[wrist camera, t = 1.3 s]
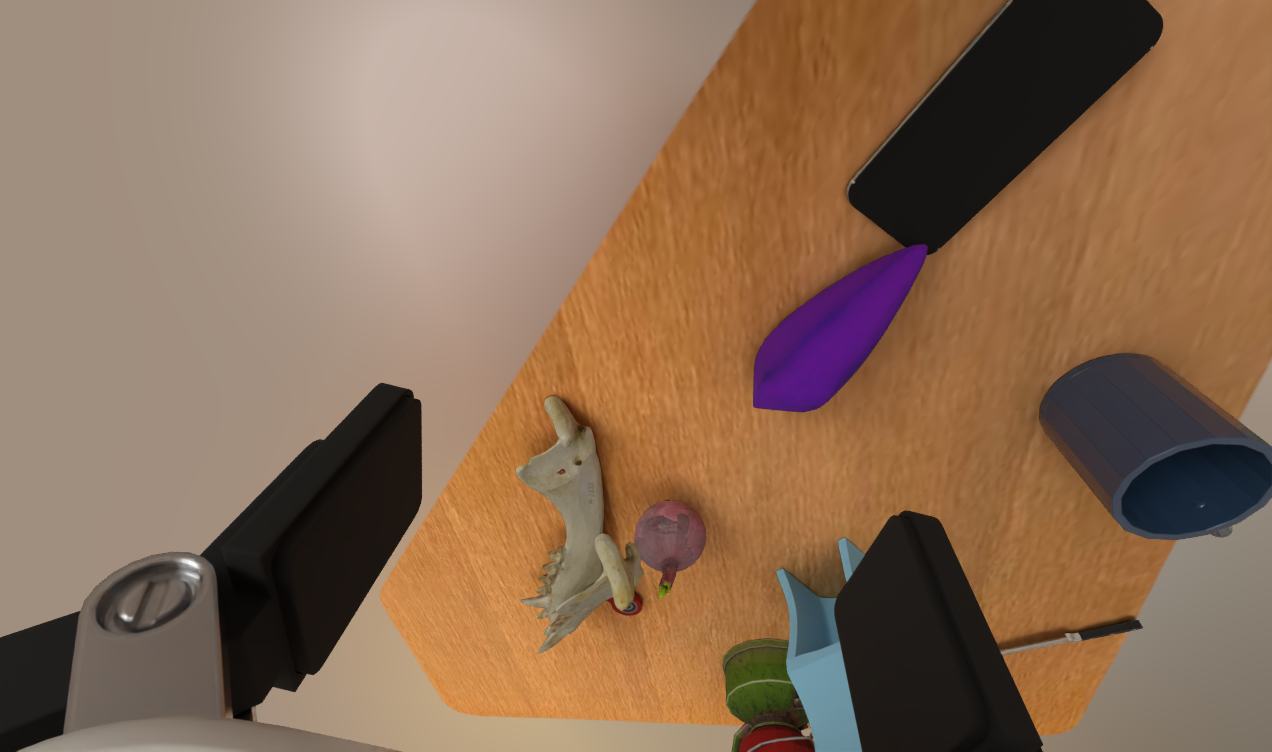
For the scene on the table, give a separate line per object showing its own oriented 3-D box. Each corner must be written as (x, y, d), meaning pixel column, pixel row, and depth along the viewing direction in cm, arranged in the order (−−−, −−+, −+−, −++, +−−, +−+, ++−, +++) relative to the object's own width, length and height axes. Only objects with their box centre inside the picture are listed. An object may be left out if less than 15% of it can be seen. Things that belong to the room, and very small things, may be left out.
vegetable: (702, 476, 48) (701, 573, 39) (710, 525, 51) (710, 625, 43) (633, 479, 49) (618, 575, 40) (645, 527, 52) (633, 625, 44)
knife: (969, 653, 56) (971, 655, 57) (972, 660, 56) (974, 662, 57) (1139, 618, 50) (1137, 621, 52) (1144, 626, 50) (1142, 629, 51)
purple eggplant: (969, 280, 32) (786, 445, 38) (935, 254, 36) (775, 407, 43) (912, 231, 31) (733, 409, 37) (883, 210, 35) (727, 373, 41)
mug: (1016, 400, 40) (1086, 488, 33) (1139, 331, 37) (1249, 413, 29) (1092, 484, 44) (1170, 581, 36) (1211, 429, 40) (1327, 525, 32)
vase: (824, 611, 56) (873, 862, 40) (775, 571, 54) (805, 822, 37) (894, 580, 52) (980, 843, 36) (845, 537, 50) (912, 797, 33)
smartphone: (839, 196, 33) (1077, -74, 26) (837, 192, 34) (1069, -72, 26) (926, 263, 35) (1175, 29, 27) (923, 259, 35) (1165, 28, 28)
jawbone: (613, 709, 52) (509, 747, 47) (558, 542, 63) (470, 558, 58) (731, 575, 37) (598, 608, 32) (632, 387, 48) (522, 390, 43)
